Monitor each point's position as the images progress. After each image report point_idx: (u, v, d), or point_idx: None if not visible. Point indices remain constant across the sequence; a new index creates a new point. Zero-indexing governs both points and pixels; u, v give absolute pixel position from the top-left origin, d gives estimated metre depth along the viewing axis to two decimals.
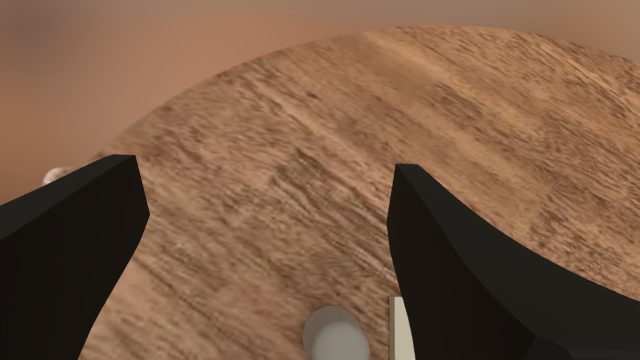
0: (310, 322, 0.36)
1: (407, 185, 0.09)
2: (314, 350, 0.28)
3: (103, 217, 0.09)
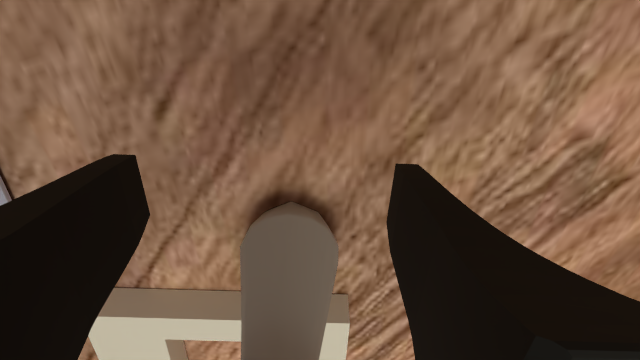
0: (313, 245, 0.21)
1: (407, 185, 0.09)
2: None
3: (103, 217, 0.09)
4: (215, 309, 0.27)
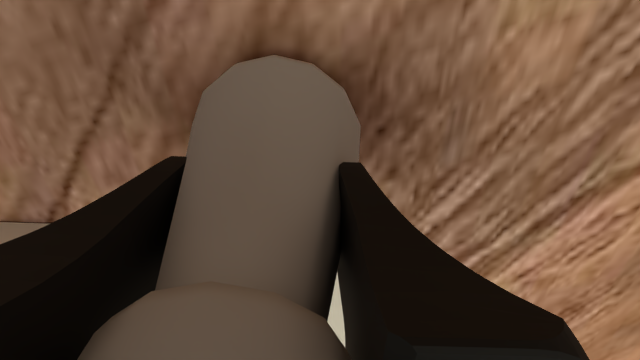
0: (318, 99, 0.11)
1: (342, 183, 0.09)
2: None
3: (169, 219, 0.09)
4: None
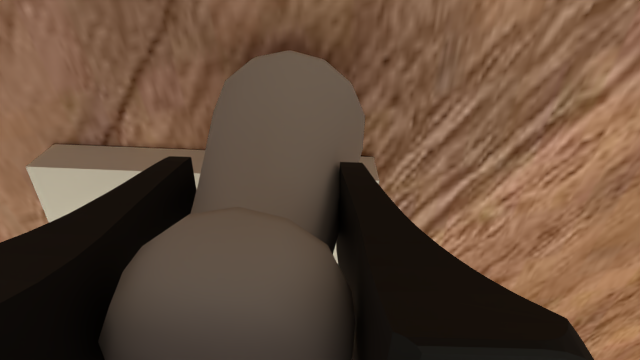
0: (327, 88, 0.13)
1: (344, 183, 0.09)
2: (221, 284, 0.05)
3: (167, 219, 0.09)
4: None
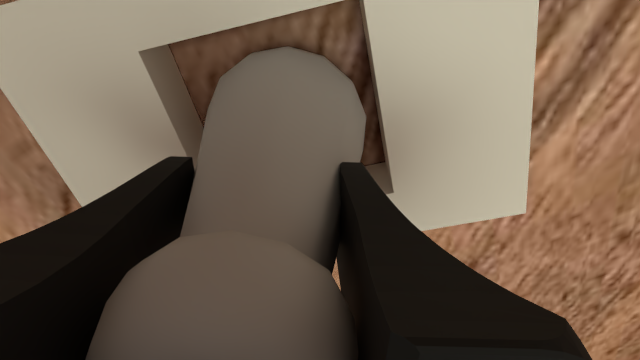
0: (327, 88, 0.12)
1: (343, 183, 0.09)
2: (213, 326, 0.05)
3: (168, 219, 0.09)
4: None
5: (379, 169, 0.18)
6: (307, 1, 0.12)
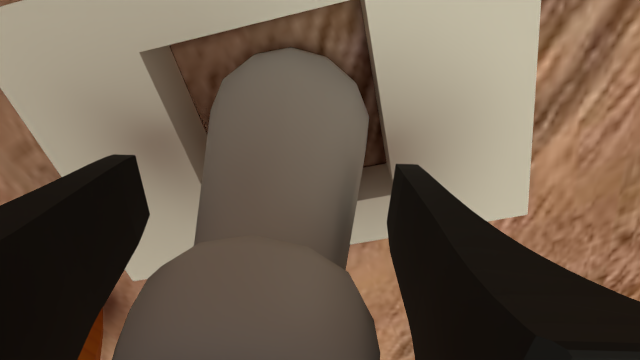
0: (332, 89, 0.12)
1: (407, 185, 0.09)
2: (244, 332, 0.05)
3: (103, 217, 0.09)
4: None
5: (380, 170, 0.18)
6: (308, 2, 0.12)
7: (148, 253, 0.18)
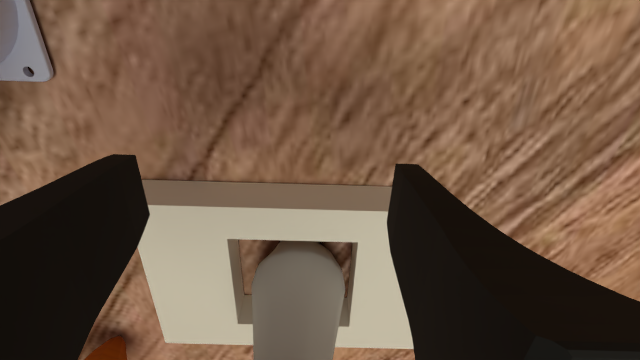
0: (331, 288, 0.22)
1: (407, 185, 0.09)
2: None
3: (103, 217, 0.09)
4: (290, 200, 0.22)
5: None
6: (328, 238, 0.22)
7: (183, 329, 0.27)
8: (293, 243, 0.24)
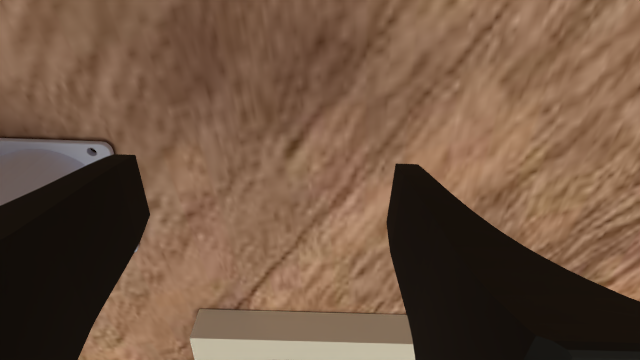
0: None
1: (407, 185, 0.09)
2: None
3: (102, 217, 0.09)
4: (316, 331, 0.28)
5: None
6: (346, 359, 0.29)
7: None
8: None
